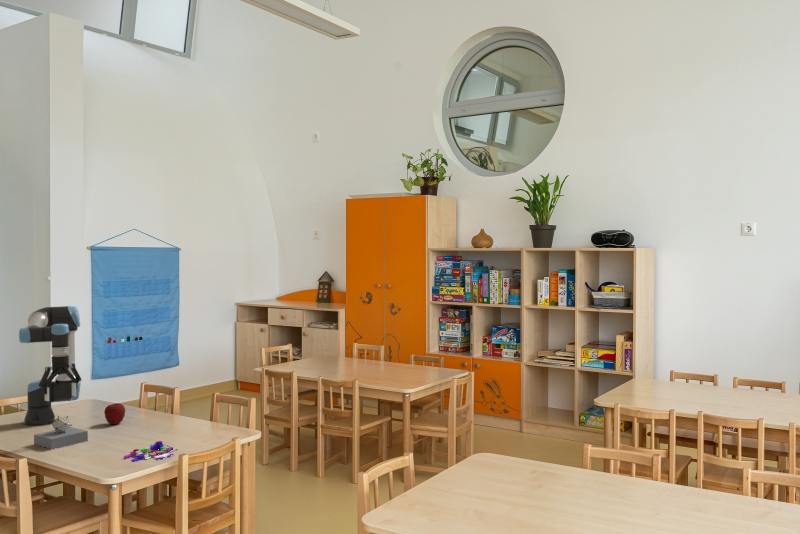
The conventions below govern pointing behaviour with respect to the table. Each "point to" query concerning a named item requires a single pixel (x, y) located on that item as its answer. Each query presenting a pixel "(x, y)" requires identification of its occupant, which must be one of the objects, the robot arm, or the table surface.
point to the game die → (61, 424)
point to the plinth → (61, 438)
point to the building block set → (154, 447)
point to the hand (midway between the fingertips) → (60, 398)
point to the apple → (114, 413)
